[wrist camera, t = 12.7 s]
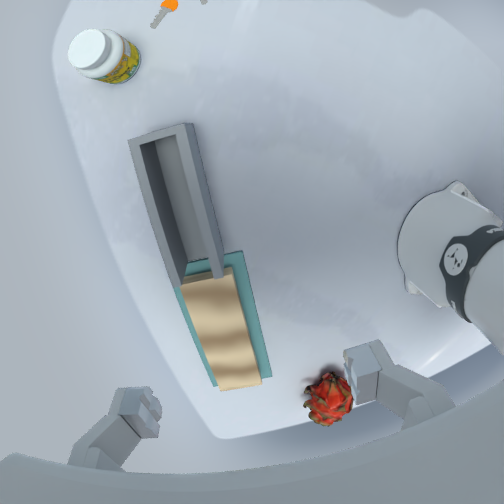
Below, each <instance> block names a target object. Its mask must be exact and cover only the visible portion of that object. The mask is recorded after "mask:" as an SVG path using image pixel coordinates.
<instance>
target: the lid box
mask: <svg viewBox="0 0 504 504" xmlns="http://www.w3.org/2000/svg"><path fill="white" fill-rule="evenodd" d="M128 144H129V147H130V151H131V155H132V159H133V163H134V167H135V170H136V174H137V178H138V181H139V185H140V188H141V192H142V195H143V198H144V202H145V205H146V208H147V212H148V215H149V218H150V221H151V225H152V228H153V231H154V234H155V237H156V240H157V243H158V246H159V249H160V252H161V255H162V258H163V261H164V264H165V267H166V270H167V272H168V275H169V278H170V281H171V283H172V286H173V288H175V287H180V286H182V284H183V280H184V276H185V272H186V268H187V264H188V261H192V260H196V259H201V258H205V257H208V260H209V263H210V267H211V270H212V273H213V277H214V280H215V279H219V278H224V249H223V245H222V241H221V237H220V233H219V229H218V225H217V221H216V217H215V213H214V209H213V205H212V201H211V197H210V193H209V189H208V185H207V181H206V177H205V173H204V169H203V165H202V160H201V156H200V152H199V148H198V143H197V139H196V135H195V131H194V126H193V123H183V124H179V125H176V126H172V127H169V128H165V129H162V130H158V131H155V132H152V133H148V134H145V135H142V136H139V137H136V138H133V139H130V140H128Z"/></svg>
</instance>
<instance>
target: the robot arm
mask: <svg viewBox="0 0 504 504" xmlns="http://www.w3.org/2000/svg"><path fill="white" fill-rule="evenodd" d="M461 194H462V195H461ZM502 224H503V221H502V220H501V219H500V218H499V217H497V216H496V215H495V214H494V213H493V212H492V211H491V210H489V209H487V208H485V207H484V206H482V205H481V204H480V203H479V202H478V201H477V199H476V198H475V197H474V196H473V195H472V193H471V192H470V191H469V190H468V189H467V188H466V186H465V185H464V184H463V183H461V182H459V181H455V182H453V183H452V184H450V185H449V186H448V187H447V188H446V189H445V190H443V191H440V192H436V193H432V194H430V195H428V196H426V197H425V198H423V199H422V200H420V201H419V202H418V203H417V204H416V205H415V206H414V207H413V209H412V210H411V211H410V213H409V214H408V216H407V217H406V219H405V221H404V223H403V226H402V228H401V231H400V235H399V240H398V258H399V262H400V265H401V267H402V269H403V271H404V273H405V287H406V290H407V291H408V292H409V293H410V294H419V295H425V296H426V297H427V298H428V299H429V300H431V301H432V302H433V303H434V304H435V305H436V306H438V307H439V308H442V307H452V308H453V309H454V310H455V312H456V313H457V314H458V315H459V316H460V317H462V318H464V319H465V320H466V321H467V322H469V323H473V324H474V325H475V326H476V327H477V328H478V329H479V330H480V331H481V332H482V333H483V334H484V336H485V337H486V338H487V339H488V340H489V341H490V342H491V343H492V344H493V345H494V346H495V348H496V349H497V350H498V351H499V352H500V353H501V354H502V355H504V229H502V228H501V226H502ZM343 357H344V359H345V363H344V371H345V376H346V380H347V383H348V385H349V386H351V391H352V396H353V398H354V401H355V404H356V405H359V404H362V403H366V402H369V401H373V400H376V401H378V402H379V403H381V404H382V405H383V406H385V407H386V408H388V409H389V410H390V411H392V412H393V413H395V414H396V415H398V416H399V417H401V418H402V419H404V422H403V425H402V428H401V431H400V432H397V433H394V434H391V435H389V436H386V437H383V438H380V439H377V440H374V441H372V442H368V443H365V444H363V445H359V446H356V447H352V448H349V449H345V450H342V451H338V452H335V453H331V454H327V455H323V456H318V457H314V458H310V459H305V460H301V461H295V462H290V463H285V464H279V465H273V466H267V467H260V468H254V469H246V470H236V471H225V472H212V473H192V474H150V473H131V472H126V471H125V470H123V469H122V468H121V466H122V464H123V463H124V462H125V460H126V459H127V458H128V456H129V455H130V454H131V452H132V451H133V450H134V448H135V447H136V446H137V444H138V443H139V442H140V440H141V438H158V434H159V428H160V425H159V424H158V421H159V420H160V418H161V416H162V407H161V404H160V401H159V400H158V398H156V397H154V396H153V395H152V394H153V391H152V390H151V388H150V387H147V386H146V387H128V388H118V389H117V390H116V392H115V395H114V398H113V401H112V404H111V407H110V410H109V413H108V415H105V416H104V417H103V418H102V419H101V420H100V421H99V422H97V423H96V424H95V425H94V426H93V427H92V428H91V429H90V430H89V431H88V432H87V433H86V434H85V435H84V436H83V437H81V438H80V439H79V440H78V441H77V442H76V443H75V444H74V446H73V449H72V452H71V455H70V458H69V461H68V464H61V463H56V462H52V461H47V460H43V459H38V458H34V457H30V456H27V455H23V454H19V453H12V454H10V455H9V456H7V457H6V458H4V459H3V460H2V461H1V462H0V504H504V379H503V380H502V381H500V382H499V383H497V384H495V385H494V386H492V387H490V388H489V389H487V390H485V391H484V392H482V393H480V394H478V395H477V396H475V397H473V398H471V399H469V400H467V401H466V402H464V403H462V404H460V405H458V406H455V404H454V402H453V401H452V399H451V398H450V396H449V394H448V393H447V391H446V389H445V388H444V386H443V385H441V384H439V383H437V382H435V381H432V380H430V379H428V378H426V377H424V376H422V375H419V374H417V373H415V372H413V371H411V370H409V369H407V368H405V367H402V366H400V365H394V363H393V361H392V359H391V358H390V356H389V354H388V353H387V351H386V349H385V347H384V346H383V344H382V342H381V341H380V340H379V339H378V340H375V341H371V342H368V343H365V344H362V345H359V346H355V347H352V348H349V349H345V350H344V352H343Z"/></svg>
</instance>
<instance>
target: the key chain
mask: <svg viewBox="0 0 504 504" xmlns="http://www.w3.org/2000/svg"><path fill="white" fill-rule="evenodd" d="M200 1H201V3H202V5H203V4H206V3H207V0H200ZM177 6H178V2H177V1H176V0H165V1H164V2H162V4H161V8H162V10H160V12H159V13H160V14H157V16H155V17H157V18H156V19H154V22H153V23H151V24H150V25H151V26H150V27H151V28H154V29H155V28H156V27H157V26H158V24H159V23H160V22H161V20H162V19H163V18H164V16H165V15H166V14H167V13H168V12H171V11H174V10H175V9H177Z"/></svg>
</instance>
